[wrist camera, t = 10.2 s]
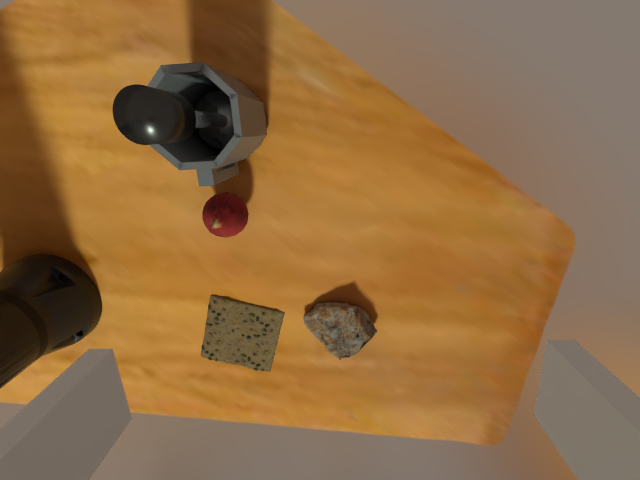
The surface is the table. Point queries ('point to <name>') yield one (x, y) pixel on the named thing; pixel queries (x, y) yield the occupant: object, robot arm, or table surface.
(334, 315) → the rock
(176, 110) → the plunger
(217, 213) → the onion
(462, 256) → the table surface
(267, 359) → the grey porous flat square
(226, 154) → the press carafe
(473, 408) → the table surface
